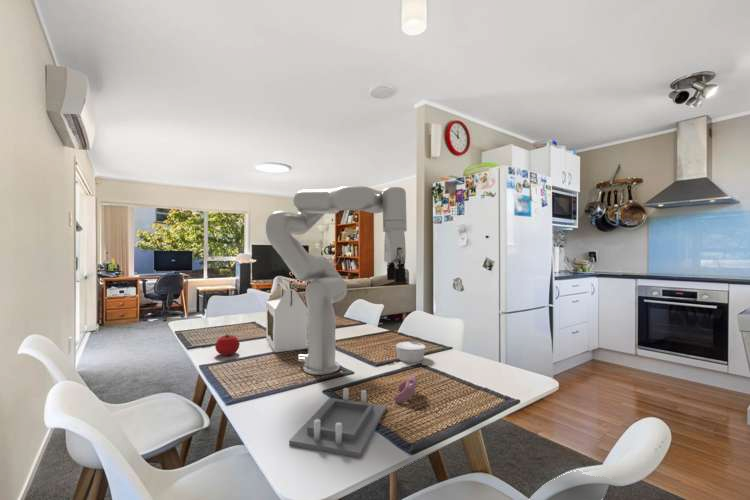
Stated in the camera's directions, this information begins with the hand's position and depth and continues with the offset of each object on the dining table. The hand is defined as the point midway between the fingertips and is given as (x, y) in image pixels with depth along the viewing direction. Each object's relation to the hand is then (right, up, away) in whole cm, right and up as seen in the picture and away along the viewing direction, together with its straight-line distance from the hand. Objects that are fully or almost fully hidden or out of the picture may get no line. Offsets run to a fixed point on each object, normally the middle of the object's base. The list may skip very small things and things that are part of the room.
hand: (395, 280), depth 110 cm
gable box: (-46, -32, +42) cm, 70 cm away
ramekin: (+7, -32, +23) cm, 40 cm away
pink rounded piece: (+2, -33, -11) cm, 34 cm away
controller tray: (-14, -32, -27) cm, 44 cm away
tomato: (-65, -32, +27) cm, 77 cm away
